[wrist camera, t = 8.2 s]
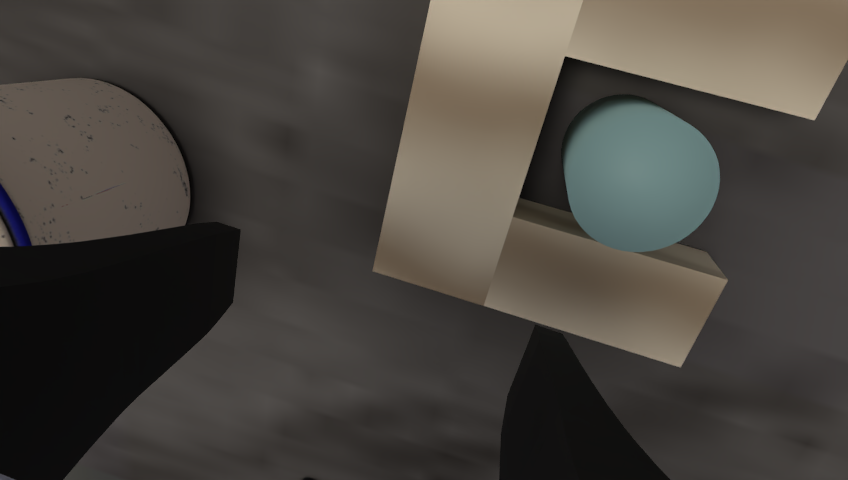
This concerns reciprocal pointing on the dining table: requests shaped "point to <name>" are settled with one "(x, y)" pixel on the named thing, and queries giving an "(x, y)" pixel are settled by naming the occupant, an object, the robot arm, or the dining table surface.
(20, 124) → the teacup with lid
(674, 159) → the teal peg
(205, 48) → the dining table surface
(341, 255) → the dining table surface
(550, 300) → the notched board
